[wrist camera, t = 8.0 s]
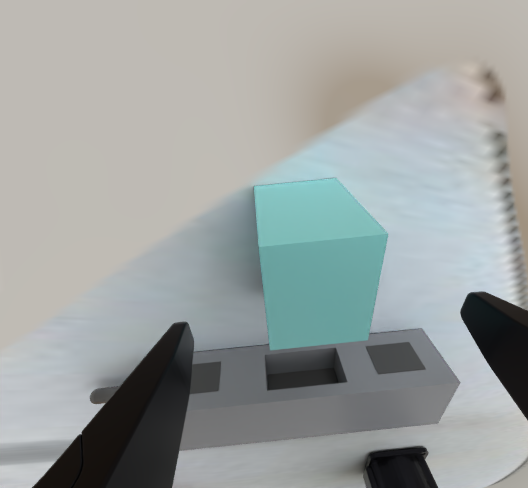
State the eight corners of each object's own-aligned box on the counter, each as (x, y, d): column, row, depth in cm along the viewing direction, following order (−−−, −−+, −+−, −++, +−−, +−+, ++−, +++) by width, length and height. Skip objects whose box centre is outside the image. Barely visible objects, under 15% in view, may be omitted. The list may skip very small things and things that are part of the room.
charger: (336, 177, 13) (388, 233, 8) (329, 288, 17) (361, 370, 12) (254, 186, 13) (258, 246, 8) (265, 295, 16) (273, 379, 12)
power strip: (422, 328, 19) (468, 391, 15) (407, 369, 22) (443, 433, 18) (82, 363, 19) (40, 436, 15) (110, 400, 22) (80, 471, 18)
